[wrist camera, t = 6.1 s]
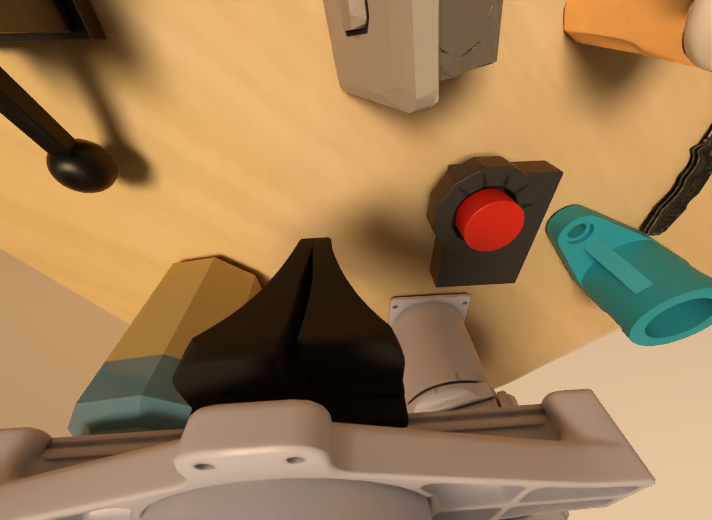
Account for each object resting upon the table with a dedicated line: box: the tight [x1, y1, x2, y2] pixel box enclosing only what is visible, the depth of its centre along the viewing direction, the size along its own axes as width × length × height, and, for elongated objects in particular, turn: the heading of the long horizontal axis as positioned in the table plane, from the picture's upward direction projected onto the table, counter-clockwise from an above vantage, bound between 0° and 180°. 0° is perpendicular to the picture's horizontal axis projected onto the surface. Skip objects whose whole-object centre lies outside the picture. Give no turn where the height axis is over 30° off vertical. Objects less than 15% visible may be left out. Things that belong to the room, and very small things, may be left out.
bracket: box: [546, 205, 712, 346], centre depth 23 cm, size 6×12×7 cm, turn 55°
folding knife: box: [644, 131, 712, 236], centre depth 21 cm, size 13×1×2 cm
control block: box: [427, 156, 563, 287], centre depth 22 cm, size 11×9×4 cm
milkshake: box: [564, 0, 712, 72], centre depth 12 cm, size 4×5×10 cm
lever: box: [0, 67, 118, 193], centre depth 13 cm, size 12×3×3 cm, turn 1°
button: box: [455, 189, 524, 251], centre depth 18 cm, size 4×4×2 cm
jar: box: [68, 257, 262, 436], centre depth 21 cm, size 9×9×15 cm
